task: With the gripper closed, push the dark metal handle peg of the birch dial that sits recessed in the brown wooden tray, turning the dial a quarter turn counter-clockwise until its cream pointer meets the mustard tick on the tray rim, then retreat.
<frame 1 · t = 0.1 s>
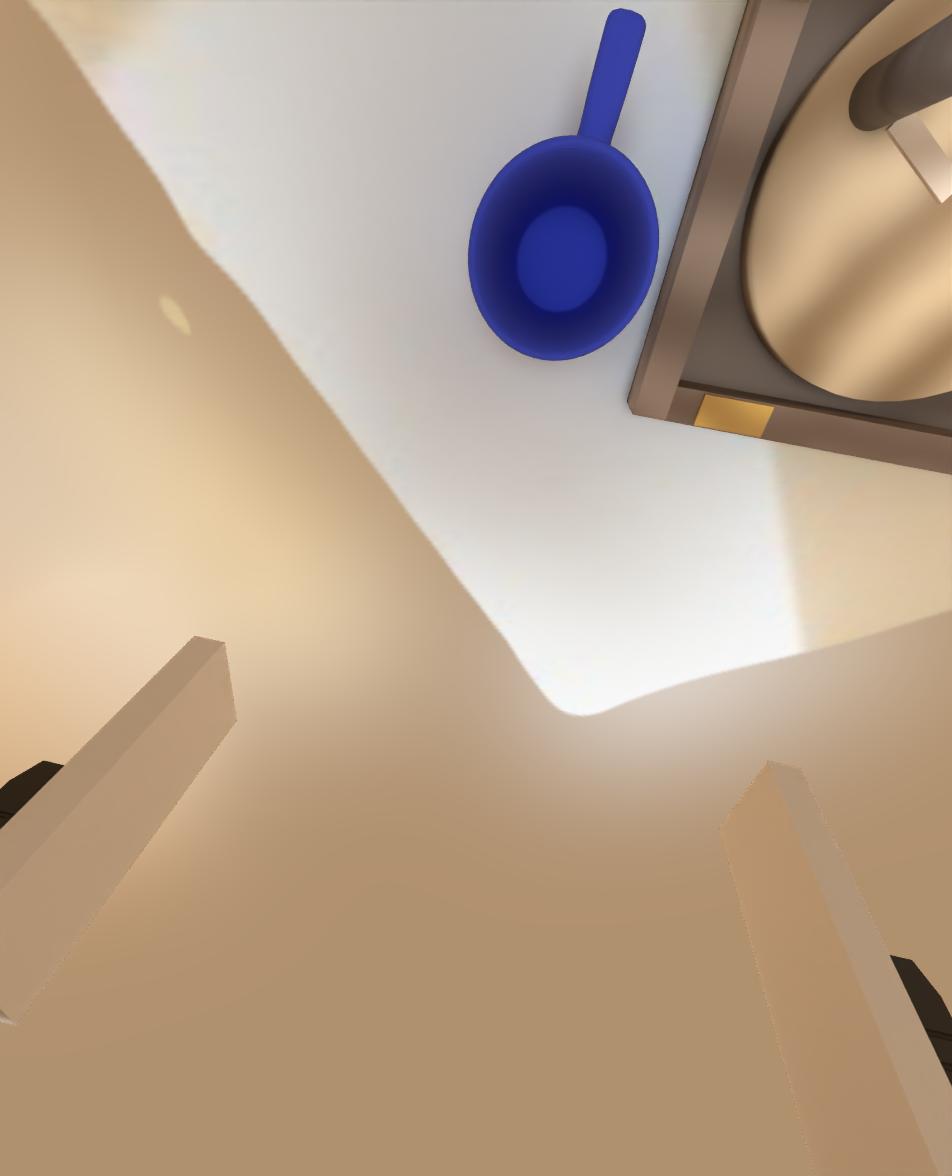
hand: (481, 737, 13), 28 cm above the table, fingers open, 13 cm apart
brown wooden tray: (920, 212, 27), on the table
mug: (572, 223, 30), on the table
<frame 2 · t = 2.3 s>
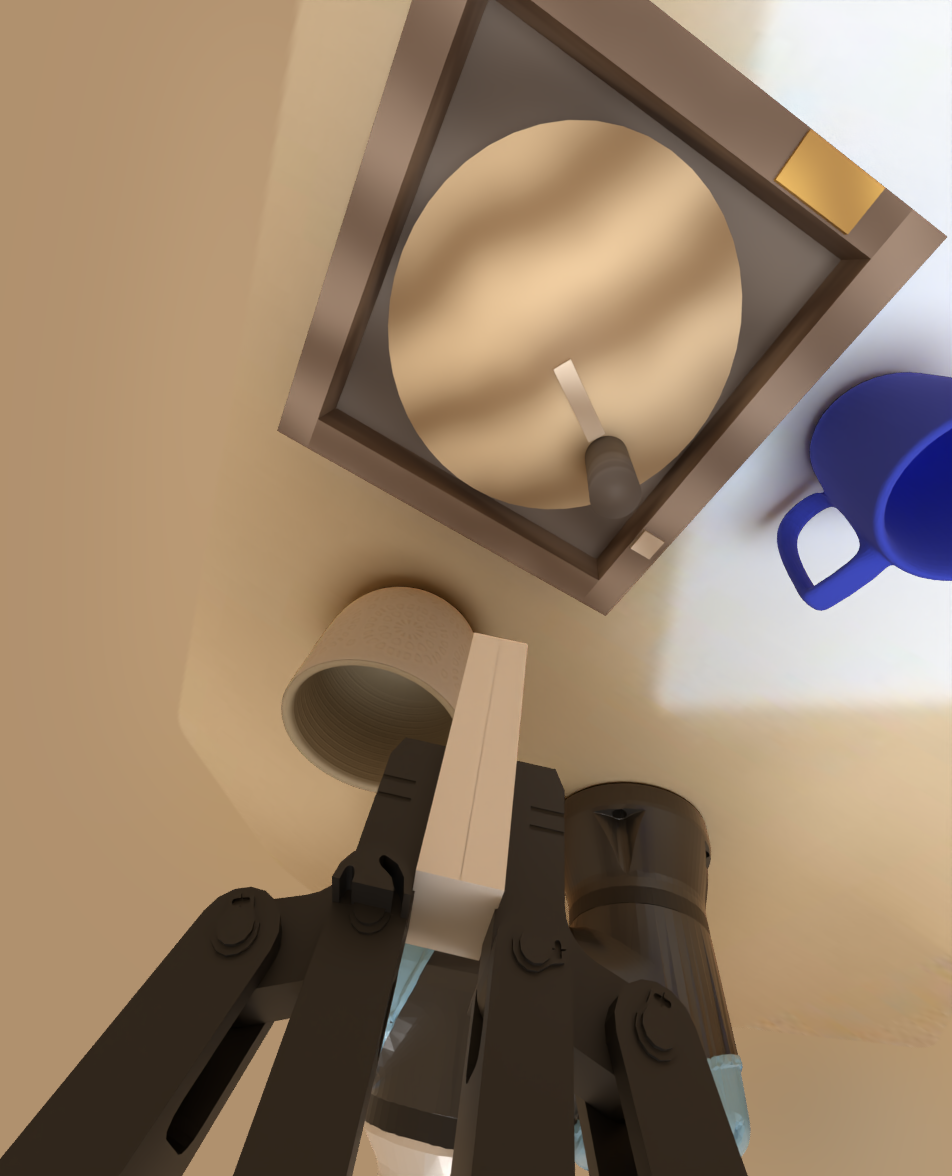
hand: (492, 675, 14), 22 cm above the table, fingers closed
planter: (414, 631, 42), on the table
brown wooden tray: (555, 342, 29), on the table
dial: (554, 354, 25), point 5 cm above the table, hinge at 0.0°
mug: (836, 458, 31), on the table
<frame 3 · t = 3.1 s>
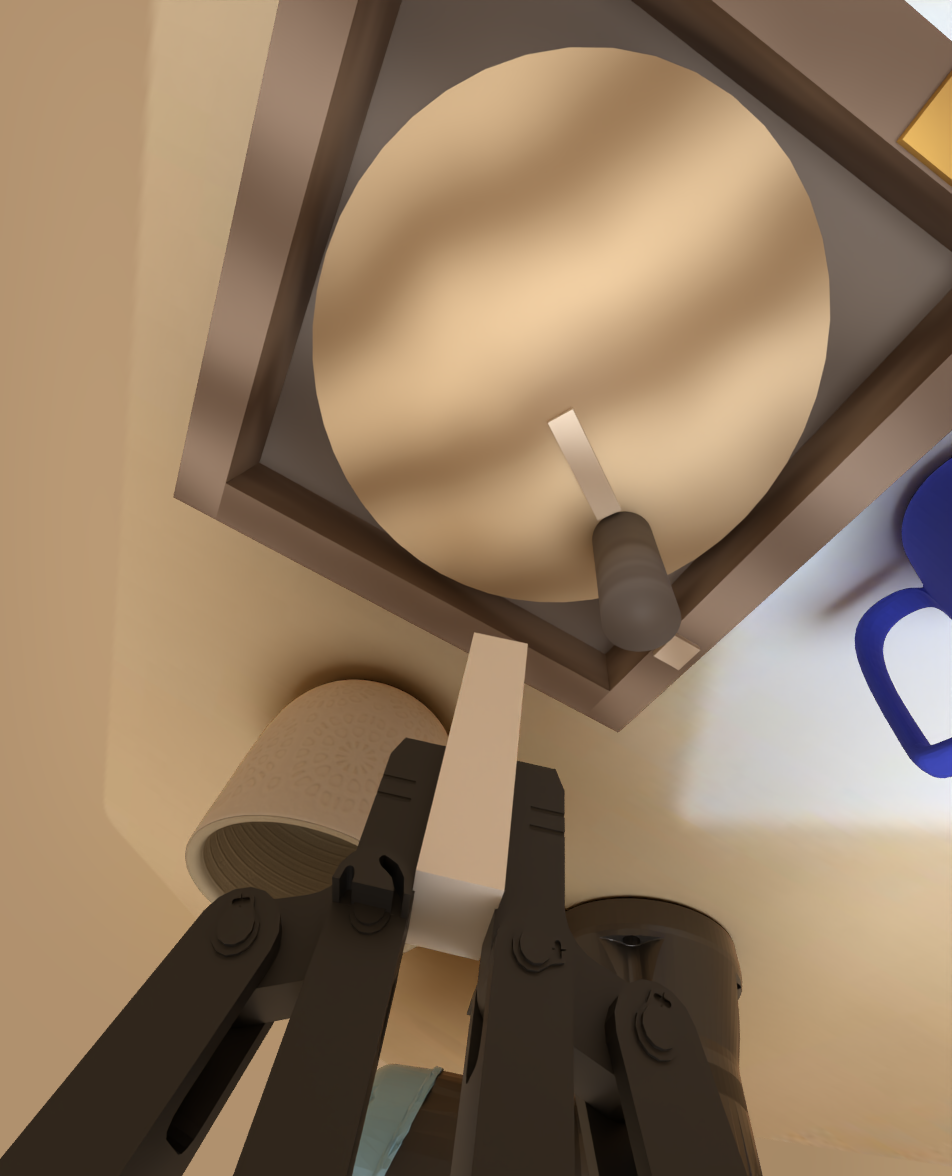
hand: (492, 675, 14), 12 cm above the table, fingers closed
planter: (378, 726, 34), on the table
brown wooden tray: (551, 380, 21), on the table
dial: (549, 405, 17), point 5 cm above the table, hinge at 0.0°
mug: (934, 535, 22), on the table
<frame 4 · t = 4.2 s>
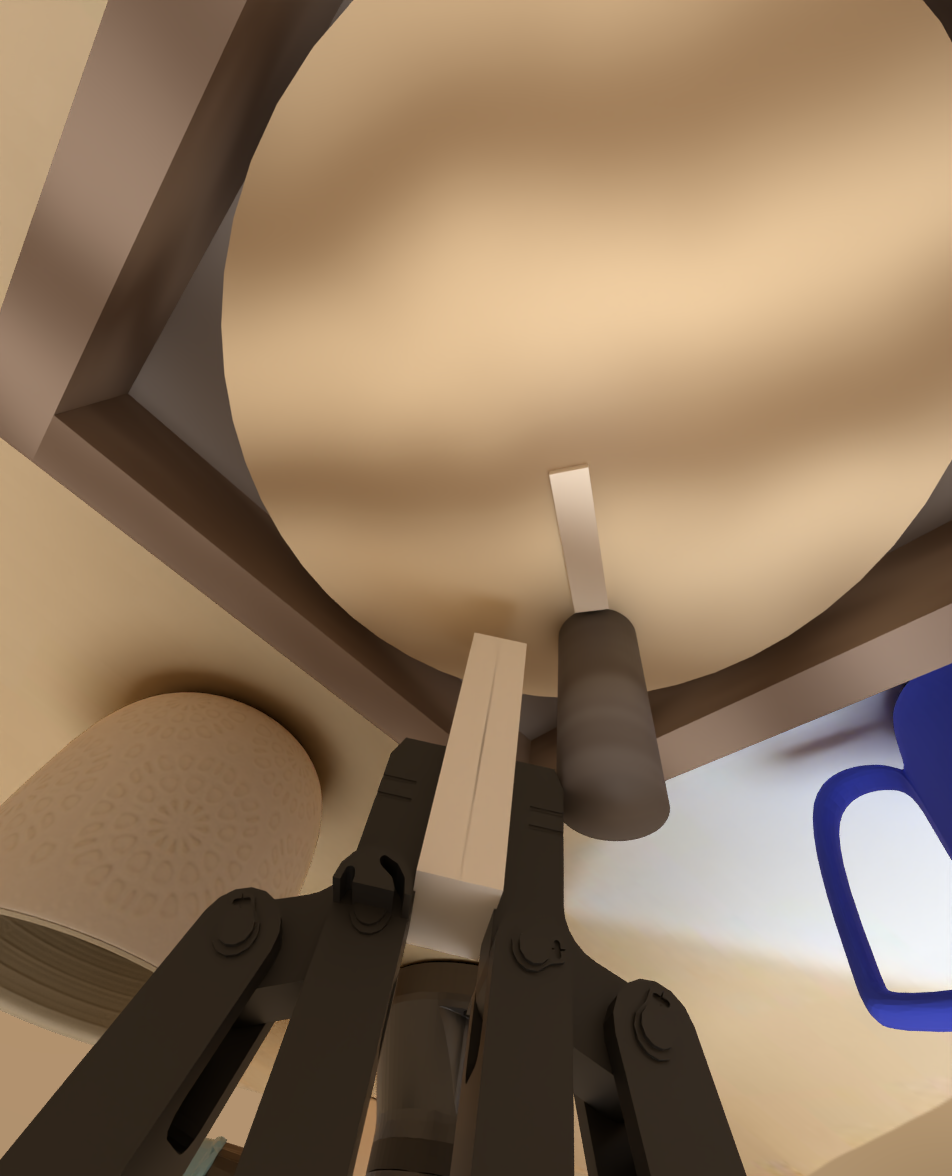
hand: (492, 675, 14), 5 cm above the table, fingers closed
planter: (237, 747, 27), on the table
brown wooden tray: (563, 408, 15), on the table
dial: (563, 459, 11), point 5 cm above the table, hinge at 0.0°, touching gripper
mug: (923, 708, 20), on the table
mug 2: (359, 1103, 62), on the table
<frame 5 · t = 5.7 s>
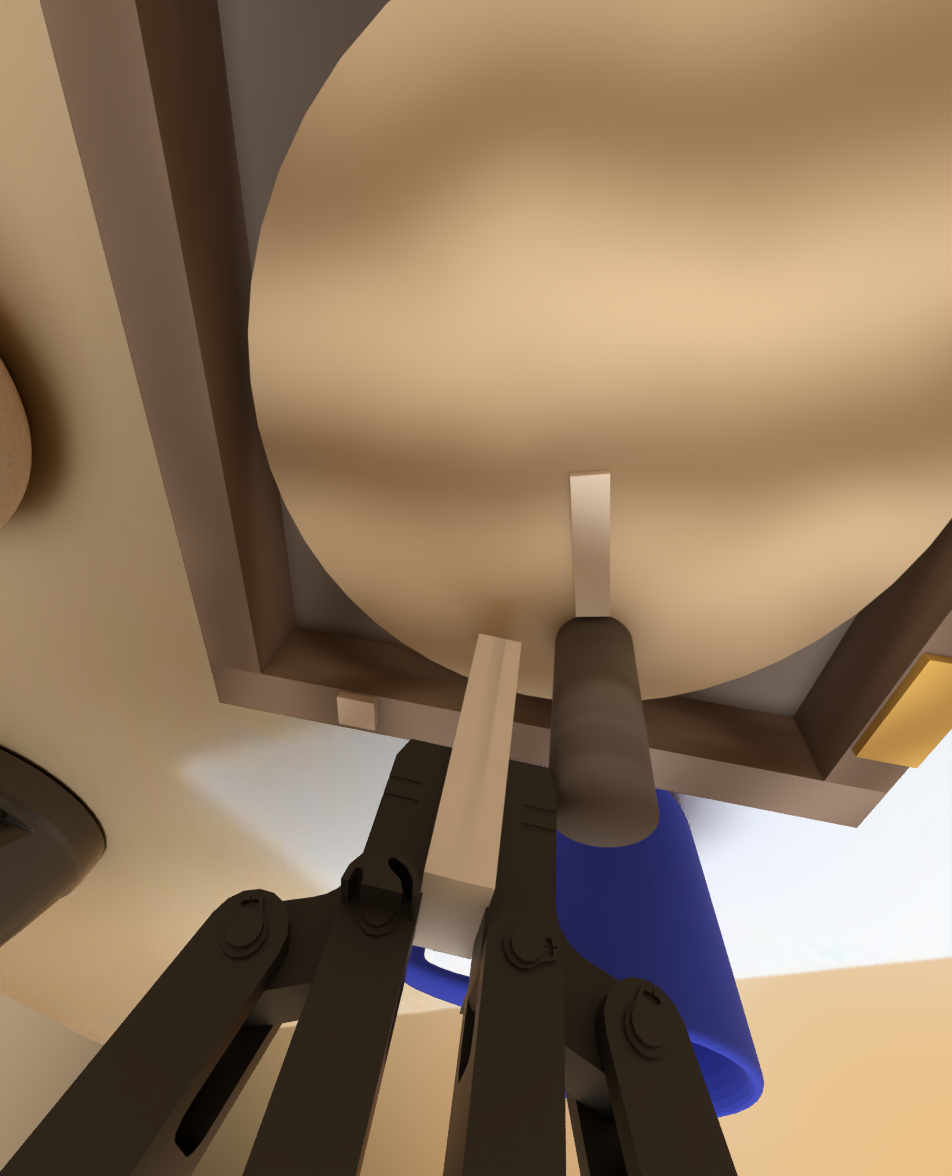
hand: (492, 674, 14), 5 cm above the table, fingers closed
brown wooden tray: (586, 411, 15), on the table
dial: (590, 463, 11), point 5 cm above the table, hinge at 43.3°, touching gripper
mug: (570, 790, 25), on the table
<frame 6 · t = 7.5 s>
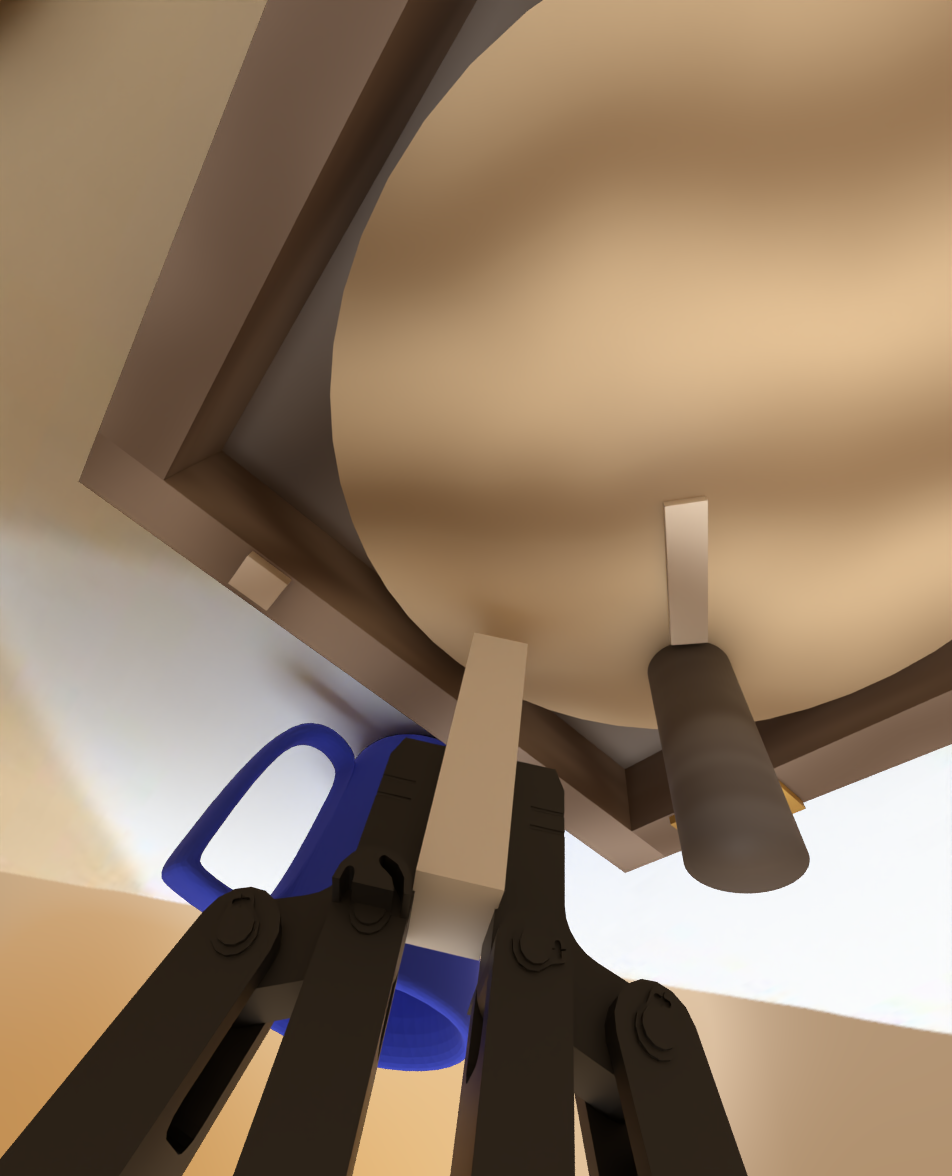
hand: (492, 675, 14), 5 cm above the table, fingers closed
brown wooden tray: (663, 434, 15), on the table
dial: (698, 495, 11), point 5 cm above the table, hinge at 84.2°
mug: (396, 746, 25), on the table
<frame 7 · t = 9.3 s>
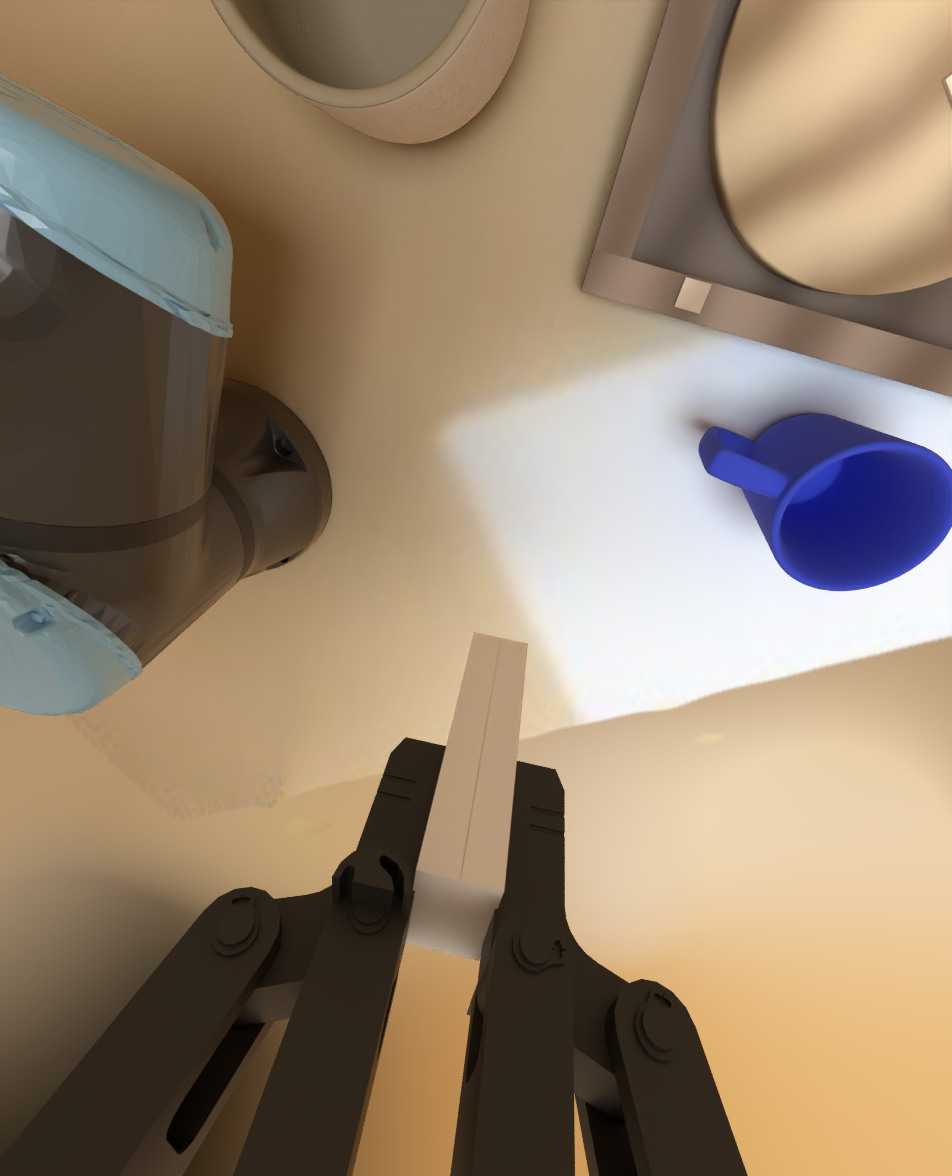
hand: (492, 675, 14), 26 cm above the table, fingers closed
planter: (422, 5, 26), on the table
brown wooden tray: (908, 75, 24), on the table
mug: (765, 451, 34), on the table
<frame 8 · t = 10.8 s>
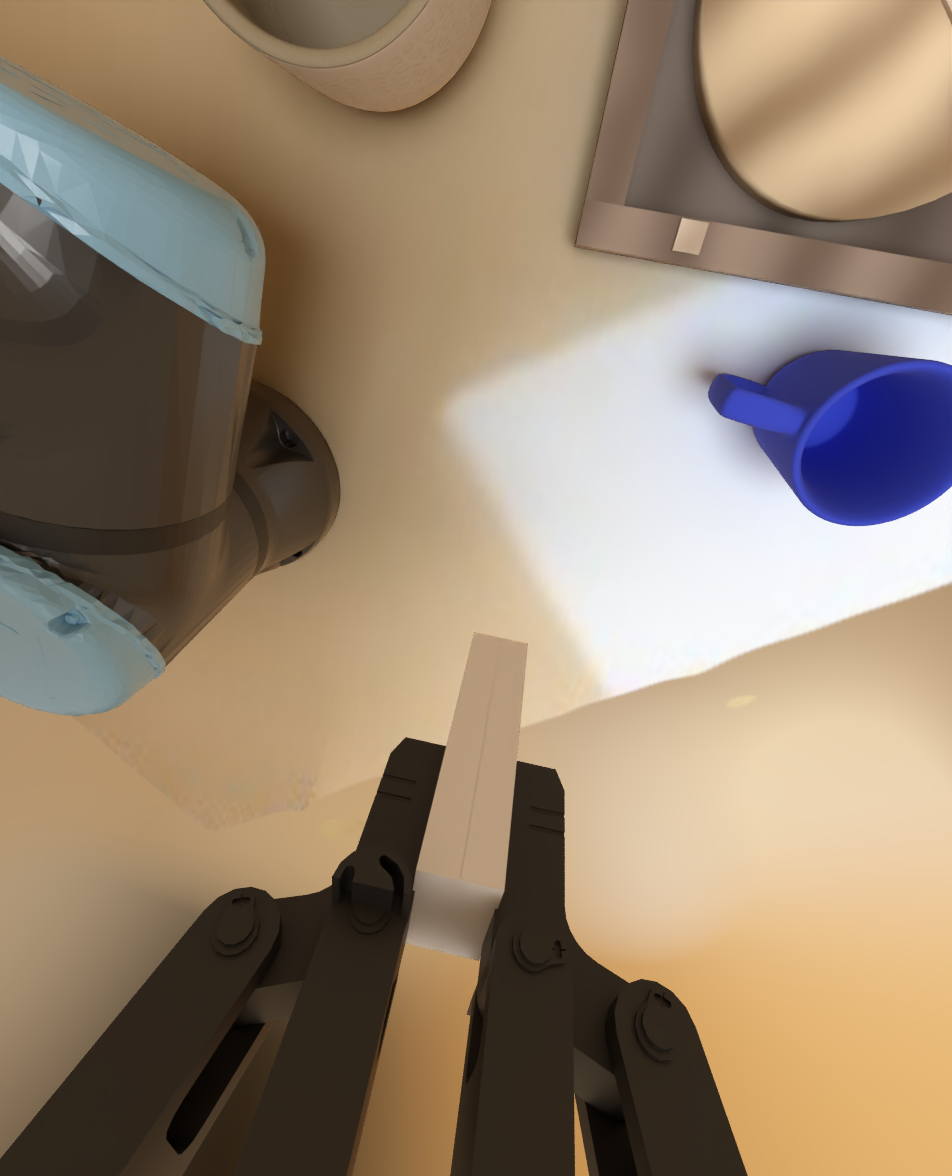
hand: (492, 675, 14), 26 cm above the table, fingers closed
mug: (775, 396, 33), on the table
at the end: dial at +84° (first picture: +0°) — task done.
